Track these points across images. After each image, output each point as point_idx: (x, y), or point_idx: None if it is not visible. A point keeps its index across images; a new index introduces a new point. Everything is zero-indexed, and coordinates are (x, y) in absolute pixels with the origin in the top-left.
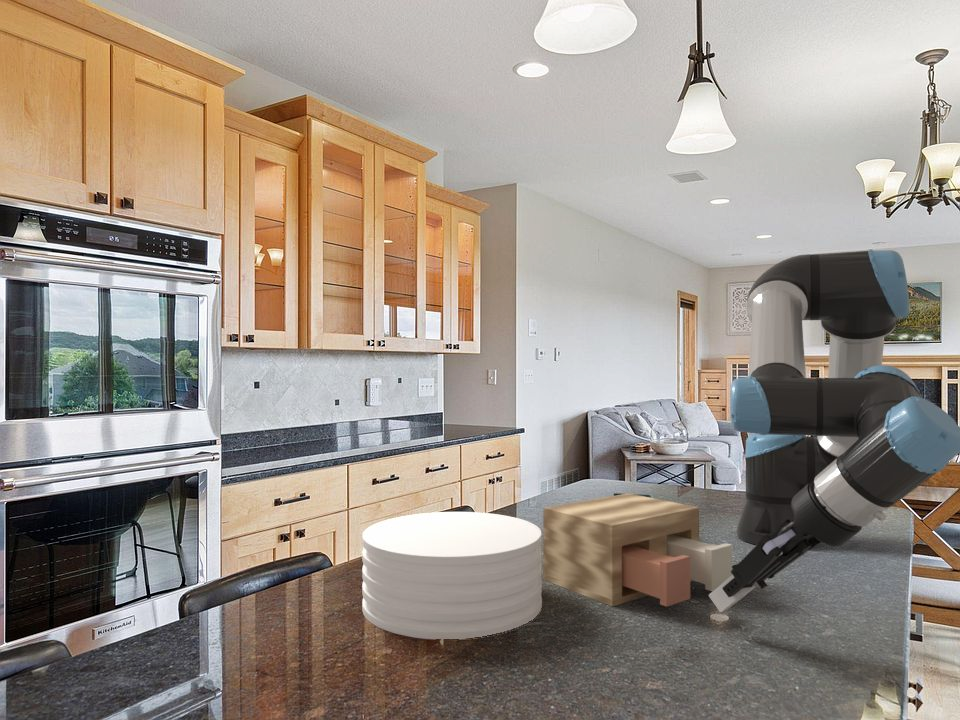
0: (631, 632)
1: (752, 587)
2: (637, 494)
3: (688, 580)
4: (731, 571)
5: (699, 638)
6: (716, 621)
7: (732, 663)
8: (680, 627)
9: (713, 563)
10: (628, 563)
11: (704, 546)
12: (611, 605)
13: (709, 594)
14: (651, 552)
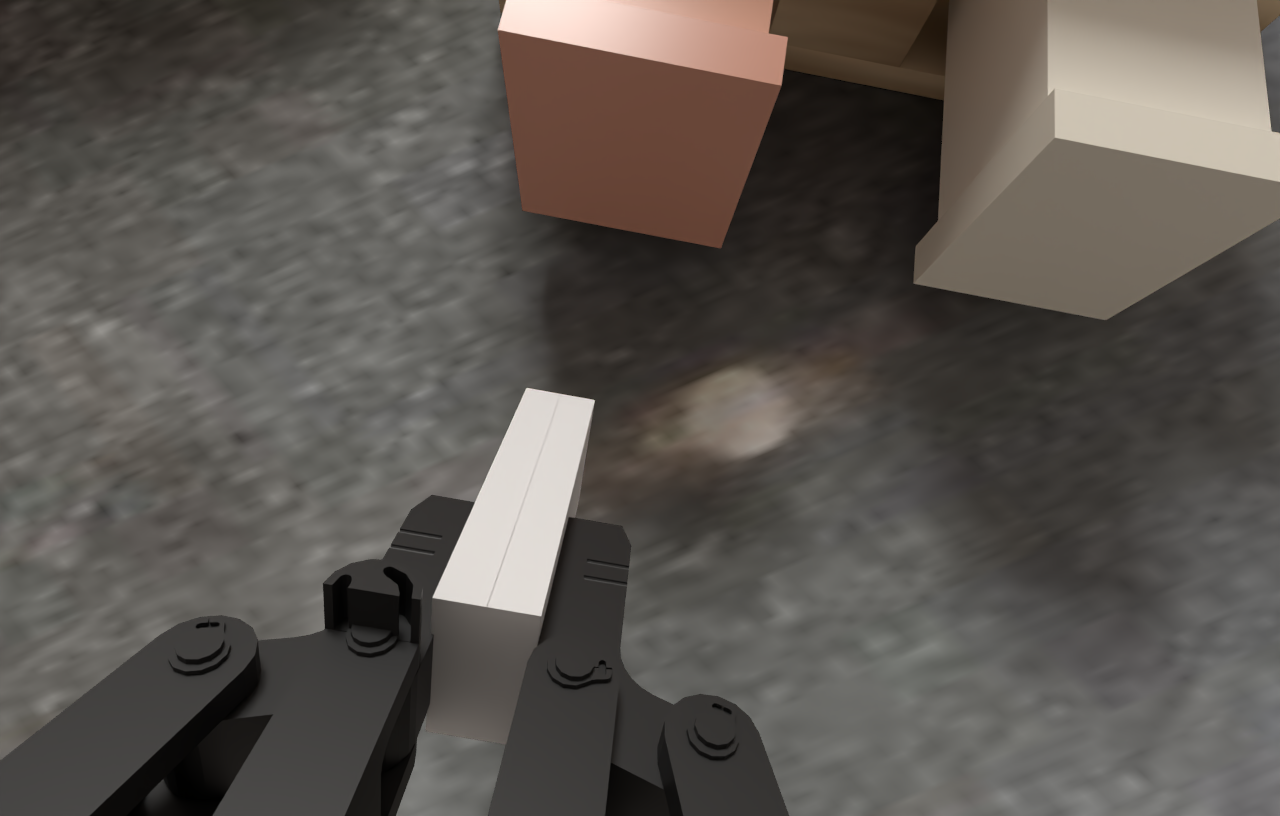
0: (264, 199)
1: (457, 735)
2: None
3: (724, 186)
4: (158, 639)
5: (401, 457)
6: (671, 427)
7: None
8: (473, 332)
9: (1017, 201)
10: None
11: (1178, 50)
12: (501, 6)
13: (526, 393)
14: None
